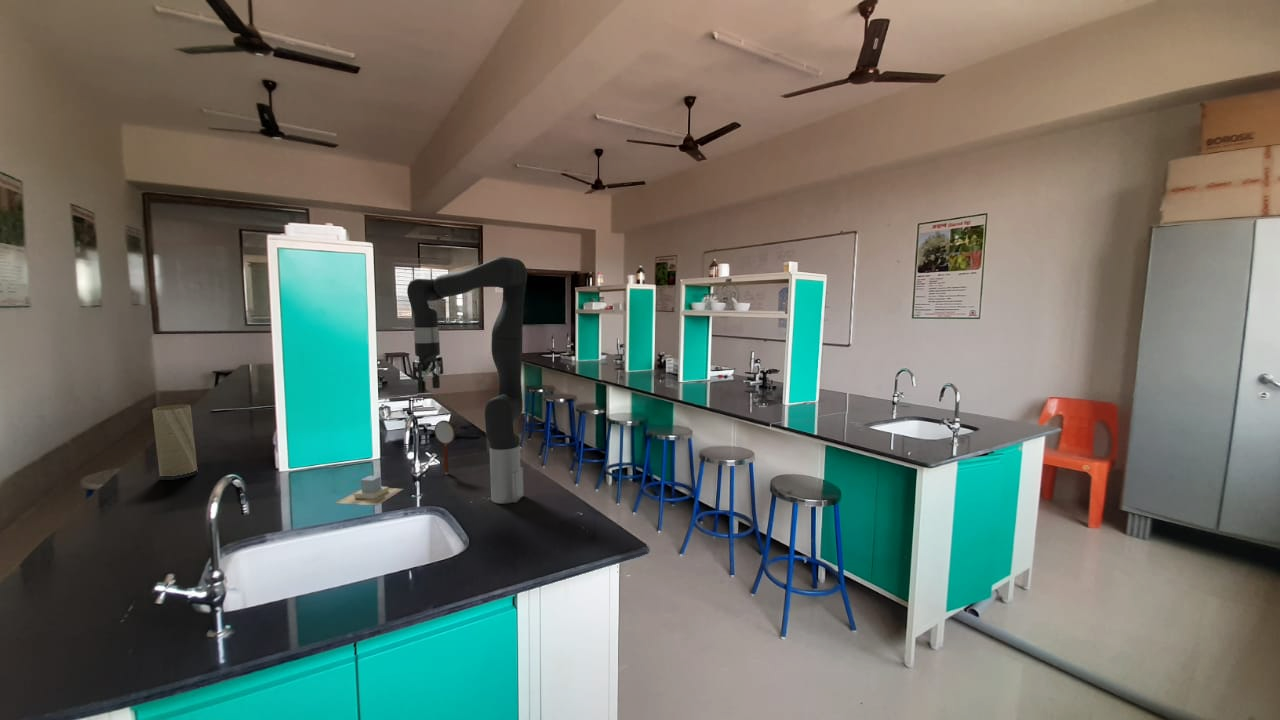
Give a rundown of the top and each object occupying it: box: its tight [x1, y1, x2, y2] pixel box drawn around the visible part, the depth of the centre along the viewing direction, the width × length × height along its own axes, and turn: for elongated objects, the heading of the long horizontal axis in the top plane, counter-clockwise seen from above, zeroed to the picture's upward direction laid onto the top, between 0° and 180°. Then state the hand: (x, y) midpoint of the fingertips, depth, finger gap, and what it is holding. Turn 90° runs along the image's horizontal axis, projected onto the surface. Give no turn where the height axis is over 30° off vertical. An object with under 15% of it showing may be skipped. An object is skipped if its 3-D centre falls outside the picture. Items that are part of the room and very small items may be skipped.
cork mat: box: [335, 487, 404, 507], centre depth 165 cm, size 14×14×1 cm
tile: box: [353, 485, 390, 500], centre depth 166 cm, size 7×2×7 cm
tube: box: [151, 404, 198, 477], centre depth 183 cm, size 10×10×25 cm
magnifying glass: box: [434, 419, 456, 475], centre depth 185 cm, size 9×2×20 cm, turn 71°
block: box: [360, 475, 382, 493], centre depth 165 cm, size 4×4×4 cm
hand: (429, 390), depth 170 cm, fingers open, 8 cm apart
